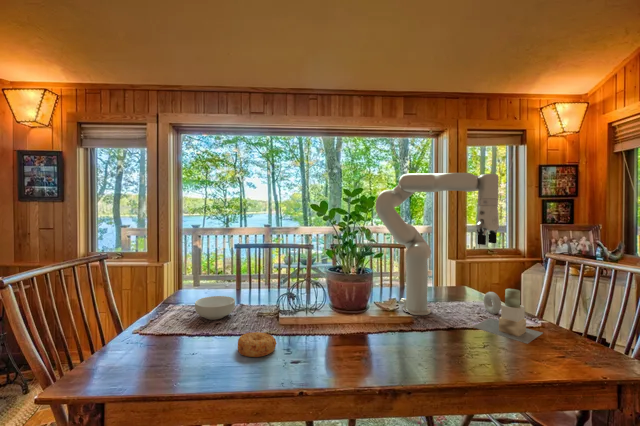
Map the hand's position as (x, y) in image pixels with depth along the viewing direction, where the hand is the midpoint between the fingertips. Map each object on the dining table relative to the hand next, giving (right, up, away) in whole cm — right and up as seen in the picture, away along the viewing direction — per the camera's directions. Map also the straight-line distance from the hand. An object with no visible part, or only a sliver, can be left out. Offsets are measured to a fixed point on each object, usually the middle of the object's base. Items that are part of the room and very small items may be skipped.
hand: (487, 243), depth 136 cm
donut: (+8, -33, +11) cm, 36 cm away
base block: (+4, -33, -11) cm, 35 cm away
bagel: (-92, -34, -27) cm, 102 cm away
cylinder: (+4, -23, -11) cm, 26 cm away
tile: (+3, -34, -10) cm, 35 cm away
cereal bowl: (-117, -33, +4) cm, 121 cm away
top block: (+4, -28, -11) cm, 30 cm away
